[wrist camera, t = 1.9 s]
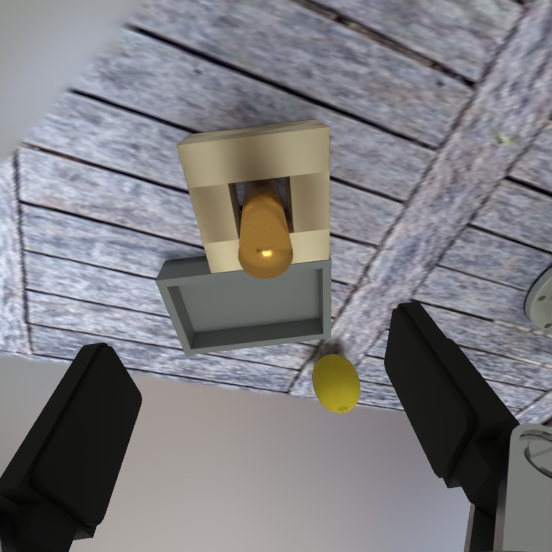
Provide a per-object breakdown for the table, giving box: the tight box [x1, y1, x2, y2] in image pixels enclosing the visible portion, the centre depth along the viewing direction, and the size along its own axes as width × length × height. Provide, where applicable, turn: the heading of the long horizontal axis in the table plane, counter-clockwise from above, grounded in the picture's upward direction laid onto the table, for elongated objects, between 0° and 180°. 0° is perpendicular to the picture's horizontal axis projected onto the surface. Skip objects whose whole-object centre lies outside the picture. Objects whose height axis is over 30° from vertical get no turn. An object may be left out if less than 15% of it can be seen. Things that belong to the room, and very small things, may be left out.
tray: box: [156, 256, 331, 355], centre depth 30 cm, size 16×10×4 cm, turn 95°
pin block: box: [177, 119, 330, 273], centre depth 24 cm, size 10×10×5 cm
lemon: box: [312, 354, 360, 414], centre depth 35 cm, size 6×6×8 cm
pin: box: [238, 178, 293, 279], centre depth 21 cm, size 3×3×12 cm
